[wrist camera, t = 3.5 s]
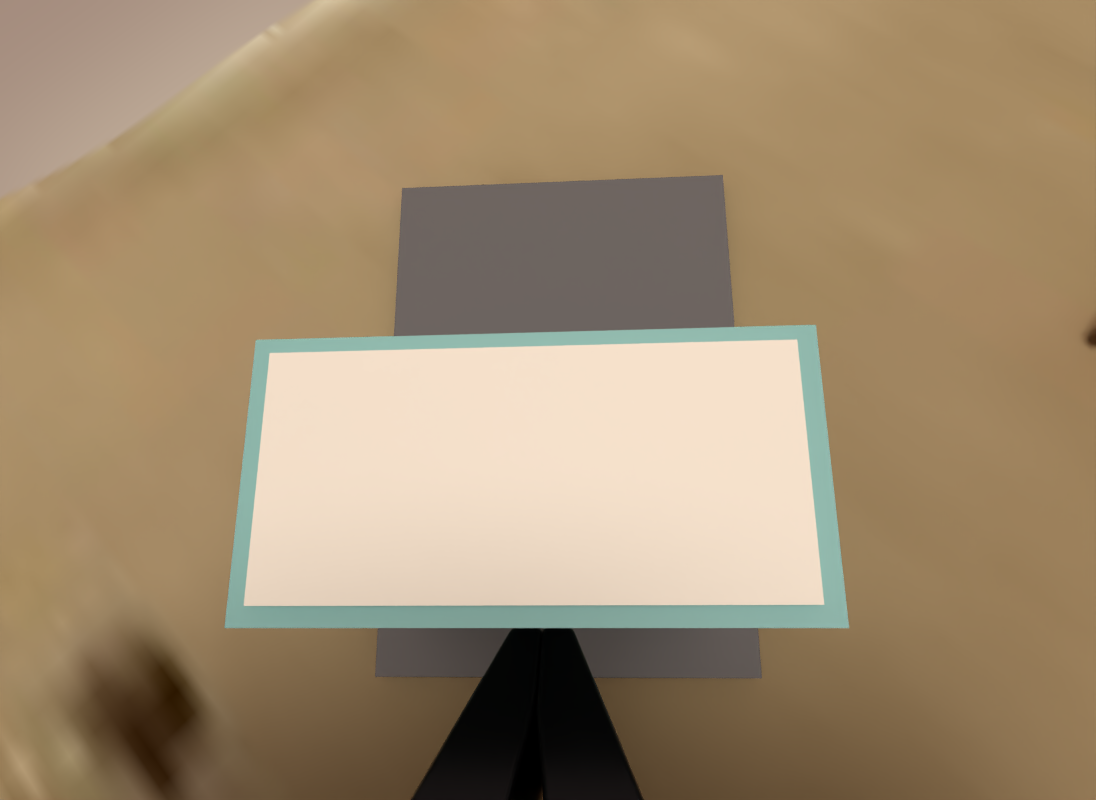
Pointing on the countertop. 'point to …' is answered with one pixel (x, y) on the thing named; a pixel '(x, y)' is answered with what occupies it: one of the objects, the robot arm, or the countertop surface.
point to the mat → (563, 306)
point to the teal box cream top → (538, 482)
